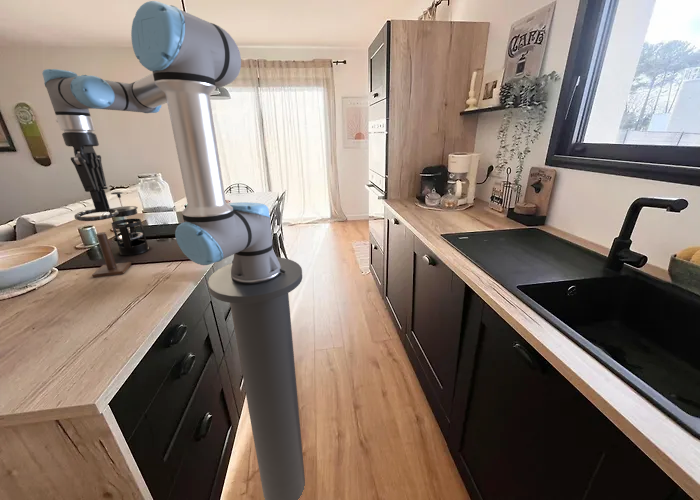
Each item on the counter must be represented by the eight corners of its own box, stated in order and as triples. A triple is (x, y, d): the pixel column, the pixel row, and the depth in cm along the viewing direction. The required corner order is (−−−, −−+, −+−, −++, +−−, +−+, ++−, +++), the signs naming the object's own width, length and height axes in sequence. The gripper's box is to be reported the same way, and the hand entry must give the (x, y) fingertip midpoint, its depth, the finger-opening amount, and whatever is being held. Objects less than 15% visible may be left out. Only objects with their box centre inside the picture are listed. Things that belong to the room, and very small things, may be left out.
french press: (124, 248, 115) (107, 190, 106) (152, 245, 118) (137, 189, 110) (115, 258, 104) (94, 195, 96) (145, 255, 108) (128, 194, 100)
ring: (123, 210, 95) (122, 207, 94) (112, 220, 86) (111, 216, 85) (84, 212, 91) (83, 208, 91) (68, 222, 82) (66, 218, 82)
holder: (131, 264, 100) (120, 228, 95) (123, 273, 93) (110, 235, 88) (103, 267, 97) (91, 231, 93) (92, 277, 90) (78, 238, 86)
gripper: (75, 132, 89) (99, 207, 98) (47, 131, 76) (77, 217, 85) (104, 132, 91) (125, 205, 100) (82, 131, 79) (108, 215, 87)
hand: (103, 210), depth 92 cm, fingers closed on ring, 1 cm apart
